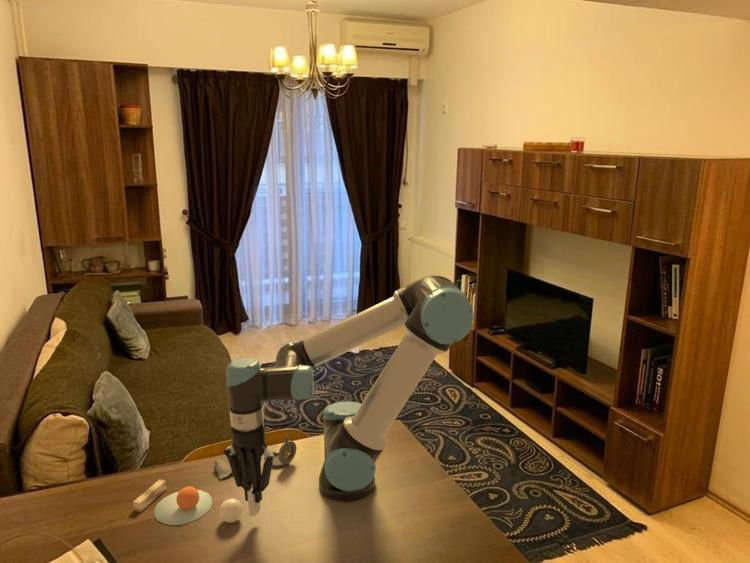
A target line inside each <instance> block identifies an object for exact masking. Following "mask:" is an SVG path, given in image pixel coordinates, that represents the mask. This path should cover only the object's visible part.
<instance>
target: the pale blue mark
mask: <svg viewBox="0 0 750 563" xmlns="http://www.w3.org/2000/svg"><path fill="white" fill-rule="evenodd" d="M196 490H197V491H198V493H199V502H198V504H197V505H196V506H195V507H194V508H192V509H190V510H183V509H181V508H180V507H179V506H178V504H177V501H176V498H177V495H178V493H179V491H176V492H173V493H170V494H169V495H167V496H165V497H164V498H162V499H161V500H160V501H159V502H158V503H157V504H156V506H155V508H154V511H153V515H154V518H155V519H156V521H158V522H160V523H161V524H164V525H167V526H179V525H181V526H182V525H185V524H189V523H193V522H195V521H197V520H199V519H201V518H202V517H204V516H205V515H206V514H207V513H208V512H209V511H210V510H211V508H212V505H213V498H212V495H210V494H209V493H208V492H206V491H204V490H200V489H196Z"/></svg>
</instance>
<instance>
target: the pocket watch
mask: <svg viewBox="0 0 750 563" xmlns="http://www.w3.org/2000/svg"><path fill="white" fill-rule="evenodd" d="M289 437H291V433H287V434H286V435H285V436H284V437H283V440H284V442H283V443H282V445H281V446H280V448H279V450H278V452H275V453H276V457H275V458H274V460H273V463H272V467H276V468H279V467H284V466H286V465H289V463H291V462H292V461H293V460H294V458H295V456H296V453H297V445H296V443H295V442H294V441H293V440H290V439H289Z"/></svg>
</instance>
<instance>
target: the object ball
mask: <svg viewBox="0 0 750 563" xmlns="http://www.w3.org/2000/svg"><path fill="white" fill-rule="evenodd" d="M197 490H198V489H197V488H195V487H193V486H185V487H183V488H181V489H180V490H179V491H178V492H179V493H178V495H177V498H176V501H177V504H178V506H179V507H180V508H181V509H183V510H190V509H192V508H194V507H195V506H196V505H197V504H198V502H199V493H198V491H197Z"/></svg>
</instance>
